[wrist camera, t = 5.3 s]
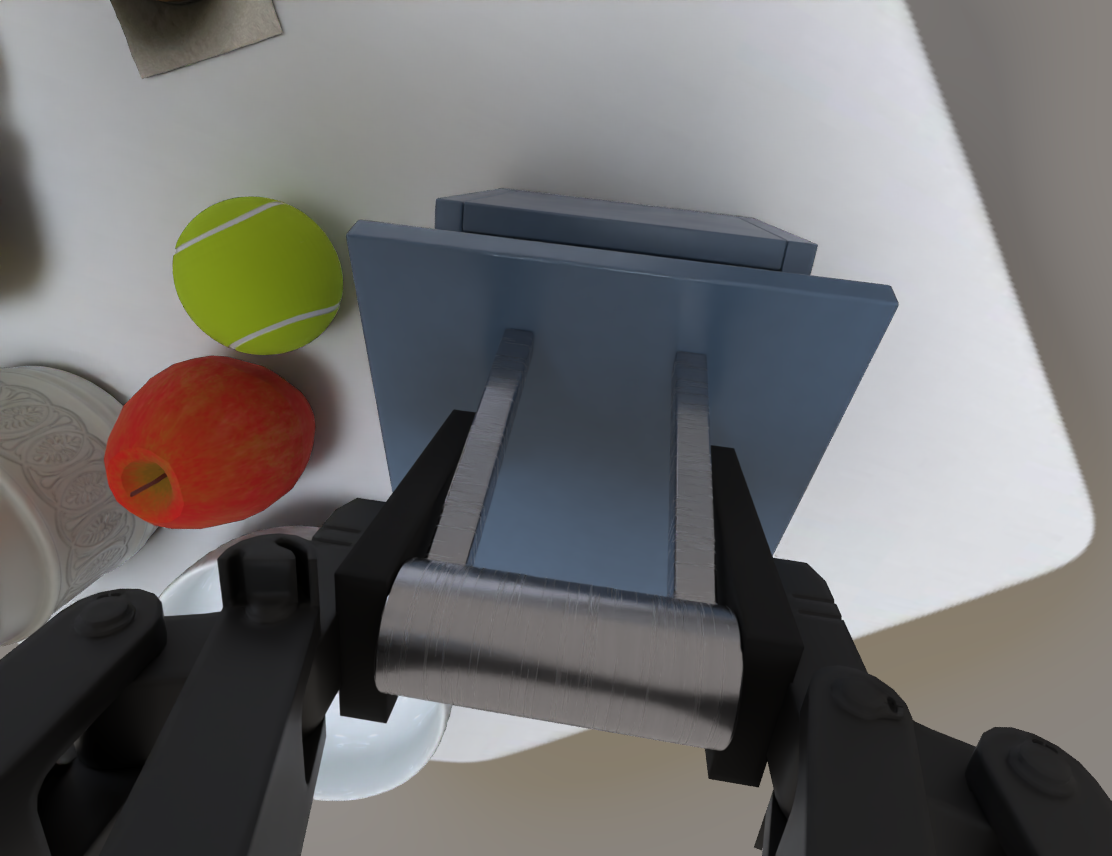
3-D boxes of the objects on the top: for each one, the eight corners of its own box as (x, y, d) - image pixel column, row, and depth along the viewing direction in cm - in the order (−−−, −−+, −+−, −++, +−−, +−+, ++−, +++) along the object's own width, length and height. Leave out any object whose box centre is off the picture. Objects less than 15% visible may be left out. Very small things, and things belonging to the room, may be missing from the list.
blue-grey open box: (501, 187, 30) (434, 197, 20) (755, 217, 29) (818, 244, 19) (481, 485, 36) (422, 607, 26) (690, 516, 35) (713, 654, 25)
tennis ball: (389, 305, 33) (329, 339, 26) (278, 353, 34) (197, 395, 28) (321, 170, 31) (238, 170, 24) (207, 227, 32) (100, 242, 26)
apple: (337, 341, 34) (214, 413, 24) (347, 480, 37) (243, 594, 27) (190, 329, 34) (12, 393, 25) (212, 466, 38) (62, 572, 28)
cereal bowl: (434, 471, 36) (390, 538, 30) (505, 697, 42) (481, 795, 35) (174, 511, 39) (83, 579, 33) (274, 716, 45) (213, 810, 38)
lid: (357, 217, 14) (76, 558, 8) (891, 283, 14) (1092, 725, 7) (421, 606, 26) (330, 878, 19) (713, 653, 25) (725, 954, 18)
